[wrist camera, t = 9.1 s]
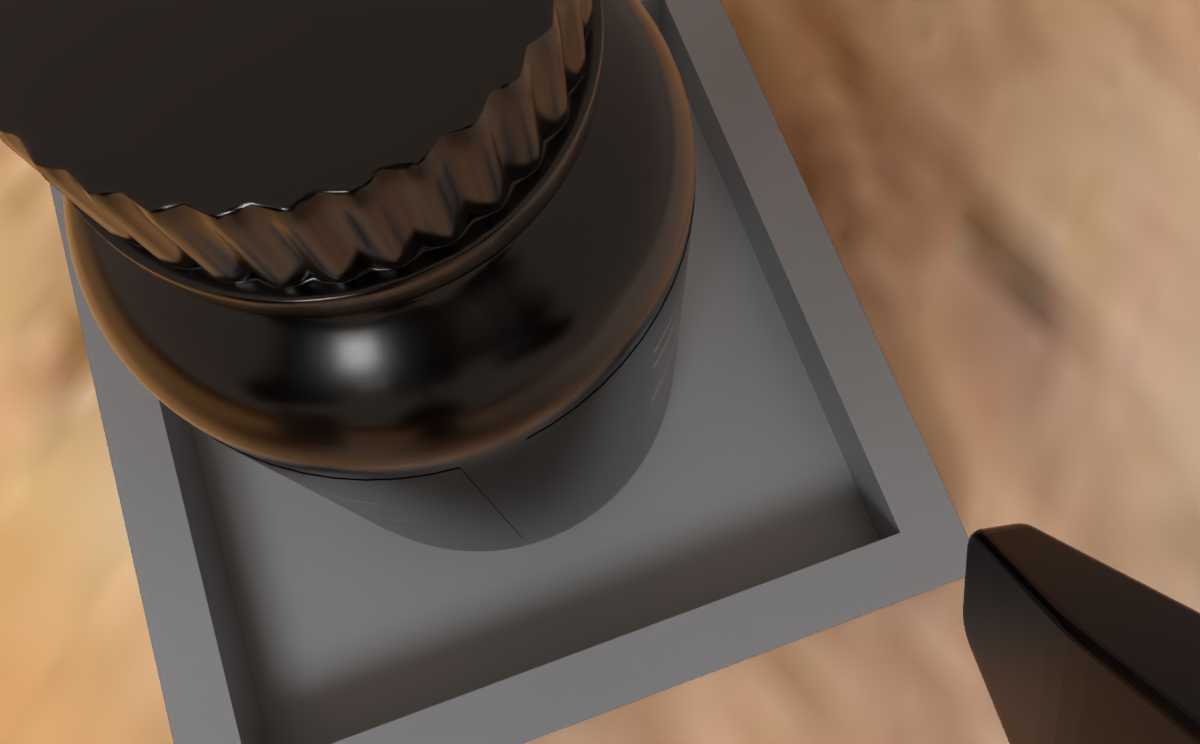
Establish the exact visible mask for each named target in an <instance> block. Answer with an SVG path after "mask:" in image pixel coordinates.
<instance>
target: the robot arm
mask: <svg viewBox="0 0 1200 744" xmlns="http://www.w3.org/2000/svg"><path fill="white" fill-rule="evenodd" d="M963 619H964V626H965V632H966V635H967V639H968V642H969V645H970V647H971V650H972V652H973V655H974V657H975V660H976V662H977V665H978V667H979V670H980V672H981V674H982V677H983V679H984V682H985V684H986V687H987V689H988V692H989V694H990V697H991V699H992V701H993V704H994V706H995V709H996V711H997V714H998V716H999V719H1000V721H1001V724H1002V726H1003V728H1004V731H1005V733H1006V736H1007V738H1008V741H1009V743H1010V744H1200V613H1199V612H1197V611H1195V610H1193V609H1191V608H1189V607H1187V606H1186V605H1184V604H1182V603H1180V602H1178V601H1176V600H1174V599H1172V598H1170V597H1168V596H1166V595H1164V594H1162V593H1160V592H1158V591H1157V590H1155V589H1153V588H1151V587H1149V586H1147V585H1145V584H1143V583H1141V582H1139V581H1137V580H1135V579H1133V578H1131V577H1129V576H1128V575H1126V574H1124V573H1122V572H1120V571H1118V570H1116V569H1114V568H1112V567H1110V566H1108V565H1106V564H1104V563H1102V562H1100V561H1099V560H1097V559H1095V558H1093V557H1091V556H1089V555H1087V554H1085V553H1083V552H1081V551H1079V550H1077V549H1075V548H1073V547H1071V546H1069V545H1068V544H1066V543H1064V542H1062V541H1060V540H1058V539H1056V538H1054V537H1052V536H1050V535H1048V534H1046V533H1044V532H1042V531H1040V530H1039V529H1037V528H1035V527H1032V526H1030V525H1027V524H1011V525H1004V526H998V527H991V528H985V529H979V530H977V531H976V532H974V533H973V534H972V535H971V536H970V539H969V541H968V546H967V556H966V572H965V588H964V604H963Z"/></svg>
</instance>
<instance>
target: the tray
mask: <svg viewBox="0 0 1200 744" xmlns="http://www.w3.org/2000/svg"><path fill="white" fill-rule="evenodd" d="M640 2H641V3H642V4H643V6H644V7H645V9H646V10H647V12H648V13H649V15H650V16H651V17H652V19H653V20H654V22H655V23H656V25H657V27H658V29H659V30H660V32H661V34H662V36H663V38H664V40H665V41H666V43H667V45H668V47H669V49H670V52H671V54H672V56H673V59H674V61H675V64H676V66H677V69H678V71H679V73H680V76H681V79H682V82H683V86H684V89H685V93H686V96H687V100H688V103H689V108H690V114H691V120H692V125H693V131H694V146H695V165H696V171H695V173H696V181H695V204H694V214H693V223H692V231H691V239H690V247H689V255H688V263H687V271H686V279H685V287H684V295H683V303H682V311H681V319H680V327H679V336H678V344H677V352H676V360H675V367H674V374H673V380H672V386H671V391H670V396H669V400H668V404H667V408H666V412H665V416H664V418H663V421H662V424H661V427H660V429H659V432H658V434H657V436H656V438H655V440H654V442H653V444H652V446H651V449H650V450H649V452H648V454H647V455H646V457H645V459H644V460H643V462H642V464H641V465H640V467H639V468H638V470H637V471H636V472H635V473H634V475H633V476H632V477H631V479H630V480H629V481H628V483H627V484H626V485H625V486H624V487H623V488H622V489H621V490H620V491H619V492H618V493H617V494H616V495H615V496H614V497H613V498H612V499H611V500H610V501H609V502H608V503H606V504H605V505H604V506H603V507H602V508H601V509H599V510H598V511H597V512H595V513H594V514H593V515H591V516H590V517H588V518H587V519H586V520H584V521H582V522H581V523H579V524H577V525H575V526H574V527H572V528H570V529H569V530H566V531H564V532H562V533H560V534H558V535H555V536H553V537H551V538H548V539H545V540H542V541H540V542H537V543H534V544H530V545H526V546H522V547H517V548H512V549H505V550H498V551H478V552H475V551H459V550H451V549H445V548H439V547H434V546H430V545H426V544H423V543H419V542H416V541H413V540H411V539H408V538H405V537H403V536H400V535H398V534H396V533H393V532H391V531H388V530H386V529H384V528H382V527H380V526H378V525H376V524H374V523H372V522H370V521H368V520H367V519H365V518H363V517H361V516H359V515H357V514H355V513H353V512H351V511H349V510H347V509H345V508H344V507H342V506H340V505H338V504H336V503H334V502H332V501H330V500H328V499H326V498H324V497H322V496H321V495H319V494H317V493H315V492H313V491H311V490H309V489H307V488H305V487H303V486H301V485H299V484H298V483H296V482H294V481H292V480H290V479H288V478H286V477H284V476H282V475H280V474H278V473H276V472H275V471H273V470H271V469H269V468H267V467H265V466H263V465H261V464H259V463H257V462H255V461H253V460H252V459H250V458H248V457H246V456H244V455H242V454H240V453H238V452H236V451H234V450H233V449H231V448H229V447H227V446H225V445H223V444H221V443H219V442H218V441H216V440H214V439H213V438H211V437H210V436H208V435H207V434H205V433H204V432H202V431H201V430H199V429H198V428H196V427H195V426H193V425H192V424H190V423H189V422H187V421H186V420H184V419H183V418H181V417H180V416H179V415H177V414H176V413H175V412H173V411H172V410H171V409H170V408H168V407H167V406H166V405H165V404H164V403H162V402H161V401H160V400H159V399H157V398H156V397H155V396H154V395H153V394H151V393H150V392H149V391H148V390H147V389H146V388H145V386H144V385H143V384H142V383H141V382H140V381H139V380H138V379H137V378H136V377H135V376H134V375H133V374H132V373H131V372H130V371H129V370H128V368H127V367H126V366H125V364H124V363H123V362H122V360H121V359H120V358H119V357H118V355H117V354H116V353H115V351H114V350H113V349H112V347H111V346H110V344H109V343H108V341H107V339H106V338H105V336H104V334H103V333H102V331H101V329H100V328H99V326H98V324H97V323H96V321H95V319H94V317H93V315H92V313H91V311H90V309H89V306H88V304H87V302H86V300H85V298H84V295H83V293H82V290H81V287H80V284H79V281H78V278H77V275H76V272H75V269H74V266H73V263H72V259H71V254H70V249H69V244H68V239H67V234H66V228H65V218H64V207H63V194H62V193H61V192H60V191H58V190H57V189H56V188H55V187H54V186H52V185H51V184H50V187H51V191H52V196H53V200H54V205H55V209H56V214H57V218H58V223H59V227H60V232H61V237H62V241H63V246H64V250H65V255H66V259H67V264H68V268H69V273H70V277H71V282H72V286H73V291H74V295H75V300H76V304H77V309H78V313H79V318H80V322H81V327H82V331H83V336H84V340H85V345H86V349H87V354H88V358H89V363H90V367H91V372H92V376H93V381H94V386H95V390H96V395H97V399H98V404H99V408H100V413H101V417H102V422H103V426H104V431H105V435H106V440H107V444H108V449H109V453H110V458H111V462H112V467H113V471H114V476H115V480H116V485H117V489H118V494H119V498H120V503H121V507H122V512H123V516H124V521H125V525H126V530H127V535H128V539H129V544H130V548H131V553H132V557H133V562H134V566H135V571H136V575H137V580H138V584H139V589H140V593H141V598H142V602H143V607H144V611H145V616H146V620H147V625H148V629H149V634H150V638H151V643H152V647H153V652H154V656H155V661H156V665H157V670H158V675H159V679H160V684H161V688H162V693H163V697H164V702H165V706H166V711H167V715H168V720H169V724H170V729H171V733H172V738H173V742H174V744H523V743H525V742H528V741H531V740H533V739H536V738H538V737H541V736H544V735H546V734H549V733H552V732H554V731H557V730H560V729H562V728H565V727H568V726H570V725H573V724H576V723H578V722H581V721H584V720H586V719H589V718H592V717H594V716H597V715H600V714H602V713H605V712H608V711H610V710H613V709H615V708H618V707H621V706H623V705H626V704H629V703H631V702H634V701H637V700H639V699H642V698H645V697H647V696H650V695H653V694H655V693H658V692H661V691H663V690H666V689H669V688H671V687H674V686H677V685H679V684H682V683H685V682H687V681H690V680H693V679H695V678H698V677H700V676H703V675H706V674H708V673H711V672H714V671H716V670H719V669H722V668H724V667H727V666H730V665H732V664H735V663H738V662H740V661H743V660H746V659H748V658H751V657H754V656H756V655H759V654H762V653H764V652H767V651H770V650H772V649H775V648H777V647H780V646H783V645H785V644H788V643H791V642H793V641H796V640H799V639H801V638H804V637H807V636H809V635H812V634H815V633H817V632H820V631H823V630H825V629H828V628H831V627H833V626H836V625H839V624H841V623H844V622H847V621H849V620H852V619H854V618H857V617H860V616H862V615H865V614H868V613H870V612H873V611H876V610H878V609H881V608H884V607H886V606H889V605H892V604H894V603H897V602H900V601H902V600H905V599H908V598H910V597H913V596H916V595H918V594H921V593H924V592H926V591H929V590H931V589H934V588H937V587H939V586H942V585H945V584H947V583H950V582H953V581H955V580H958V579H961V578H963V577H965V572H966V556H967V546H968V541H969V538H968V536H967V534H966V532H965V530H964V528H963V525H962V523H961V521H960V519H959V517H958V515H957V512H956V510H955V508H954V506H953V504H952V501H951V499H950V497H949V495H948V493H947V491H946V488H945V486H944V484H943V482H942V480H941V478H940V475H939V473H938V471H937V469H936V467H935V465H934V462H933V460H932V458H931V456H930V454H929V452H928V449H927V447H926V445H925V443H924V441H923V439H922V436H921V434H920V432H919V430H918V428H917V426H916V423H915V421H914V419H913V417H912V415H911V413H910V410H909V408H908V406H907V404H906V402H905V400H904V397H903V395H902V393H901V391H900V389H899V386H898V384H897V382H896V380H895V378H894V376H893V373H892V371H891V369H890V367H889V365H888V363H887V360H886V358H885V356H884V354H883V352H882V350H881V347H880V345H879V343H878V341H877V339H876V337H875V334H874V332H873V330H872V328H871V326H870V324H869V321H868V319H867V317H866V315H865V313H864V311H863V308H862V306H861V304H860V302H859V300H858V298H857V295H856V293H855V291H854V289H853V287H852V284H851V282H850V280H849V278H848V276H847V274H846V271H845V269H844V267H843V265H842V263H841V261H840V258H839V256H838V254H837V252H836V250H835V248H834V245H833V243H832V241H831V239H830V237H829V235H828V232H827V230H826V228H825V226H824V224H823V222H822V219H821V217H820V215H819V213H818V211H817V209H816V206H815V204H814V202H813V200H812V198H811V196H810V193H809V191H808V189H807V187H806V185H805V183H804V180H803V178H802V176H801V174H800V172H799V169H798V167H797V165H796V163H795V161H794V159H793V156H792V154H791V152H790V150H789V148H788V146H787V143H786V141H785V139H784V137H783V135H782V133H781V130H780V128H779V126H778V124H777V122H776V120H775V117H774V115H773V113H772V111H771V109H770V107H769V104H768V102H767V100H766V98H765V96H764V94H763V91H762V89H761V87H760V85H759V83H758V81H757V78H756V76H755V74H754V72H753V70H752V68H751V65H750V63H749V61H748V59H747V57H746V54H745V52H744V50H743V48H742V46H741V44H740V41H739V39H738V37H737V35H736V33H735V31H734V28H733V26H732V24H731V22H730V20H729V18H728V15H727V13H726V11H725V9H724V7H723V5H722V2H721V0H640Z"/></svg>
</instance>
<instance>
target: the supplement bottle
mask: <svg viewBox="0 0 1200 744" xmlns="http://www.w3.org/2000/svg"><path fill="white" fill-rule="evenodd" d="M0 139H1V140H2V141H3V142H4V143H5V144H6V145H7V146H8V147H10V148H11V149H12V150H13V151H14V152H16V153H17V154H18V155H19V156H20V157H22V158H23V159H24V160H25V161H26V162H28V163H29V164H30V165H31V166H33V167H34V168H35V169H36V170H37V171H39V172H40V173H41V174H42V176H43V177H44V178H45V179H46V180H47V181H48V182H49V183H50V184H51V185H52V186H54V187H55V188H56V189H57V190H58V191H60V192H61V193H62V194H63V207H64V218H65V228H66V234H67V239H68V244H69V249H70V254H71V259H72V263H73V266H74V269H75V272H76V275H77V278H78V281H79V284H80V287H81V290H82V293H83V295H84V298H85V300H86V302H87V304H88V306H89V309H90V311H91V313H92V315H93V317H94V319H95V321H96V323H97V324H98V326H99V328H100V329H101V331H102V333H103V334H104V336H105V338H106V339H107V341H108V343H109V344H110V346H111V347H112V349H113V350H114V351H115V353H116V354H117V355H118V357H119V358H120V359H121V360H122V362H123V363H124V364H125V366H126V367H127V368H128V370H129V371H130V372H131V373H132V374H133V375H134V376H135V377H136V378H137V379H138V380H139V381H140V382H141V383H142V384H143V385H144V386H145V388H146V389H147V390H148V391H149V392H150V393H151V394H153V395H154V396H155V397H156V398H157V399H159V400H160V401H161V402H162V403H164V404H165V405H166V406H167V407H168V408H170V409H171V410H172V411H173V412H175V413H176V414H177V415H179V416H180V417H181V418H183V419H184V420H186V421H187V422H189V423H190V424H192V425H193V426H195V427H196V428H198V429H199V430H201V431H202V432H204V433H205V434H207V435H208V436H210V437H211V438H213V439H214V440H216V441H218V442H219V443H221V444H223V445H225V446H227V447H229V448H231V449H233V450H234V451H236V452H238V453H240V454H242V455H244V456H246V457H248V458H250V459H252V460H253V461H255V462H257V463H259V464H261V465H263V466H265V467H267V468H269V469H271V470H273V471H275V472H276V473H278V474H280V475H282V476H284V477H286V478H288V479H290V480H292V481H294V482H296V483H298V484H299V485H301V486H303V487H305V488H307V489H309V490H311V491H313V492H315V493H317V494H319V495H321V496H322V497H324V498H326V499H328V500H330V501H332V502H334V503H336V504H338V505H340V506H342V507H344V508H345V509H347V510H349V511H351V512H353V513H355V514H357V515H359V516H361V517H363V518H365V519H367V520H368V521H370V522H372V523H374V524H376V525H378V526H380V527H382V528H384V529H386V530H388V531H391V532H393V533H396V534H398V535H400V536H403V537H405V538H408V539H411V540H413V541H416V542H419V543H423V544H426V545H430V546H434V547H439V548H445V549H451V550H459V551H475V552H478V551H498V550H505V549H512V548H517V547H522V546H526V545H530V544H534V543H537V542H540V541H542V540H545V539H548V538H551V537H553V536H555V535H558V534H560V533H562V532H564V531H566V530H569V529H570V528H572V527H574V526H575V525H577V524H579V523H581V522H582V521H584V520H586V519H587V518H588V517H590V516H591V515H593V514H594V513H595V512H597V511H598V510H599V509H601V508H602V507H603V506H604V505H605V504H606V503H608V502H609V501H610V500H611V499H612V498H613V497H614V496H615V495H616V494H617V493H618V492H619V491H620V490H621V489H622V488H623V487H624V486H625V485H626V484H627V483H628V481H629V480H630V479H631V477H632V476H633V475H634V473H635V472H636V471H637V470H638V468H639V467H640V465H641V464H642V462H643V460H644V459H645V457H646V455H647V454H648V452H649V450H650V449H651V446H652V444H653V442H654V440H655V438H656V436H657V434H658V432H659V429H660V427H661V424H662V421H663V418H664V416H665V412H666V408H667V404H668V400H669V396H670V391H671V386H672V380H673V374H674V367H675V360H676V352H677V344H678V336H679V327H680V319H681V311H682V303H683V295H684V287H685V279H686V271H687V263H688V255H689V247H690V239H691V231H692V223H693V214H694V204H695V181H696V173H695V171H696V165H695V146H694V131H693V125H692V120H691V114H690V108H689V103H688V100H687V96H686V93H685V89H684V86H683V82H682V79H681V76H680V73H679V71H678V69H677V66H676V64H675V61H674V59H673V56H672V54H671V52H670V49H669V47H668V45H667V43H666V41H665V40H664V38H663V36H662V34H661V32H660V30H659V29H658V27H657V25H656V23H655V22H654V20H653V19H652V17H651V16H650V15H649V13H648V12H647V10H646V9H645V7H644V6H643V4H642V3H641V2H640V0H0Z"/></svg>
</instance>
